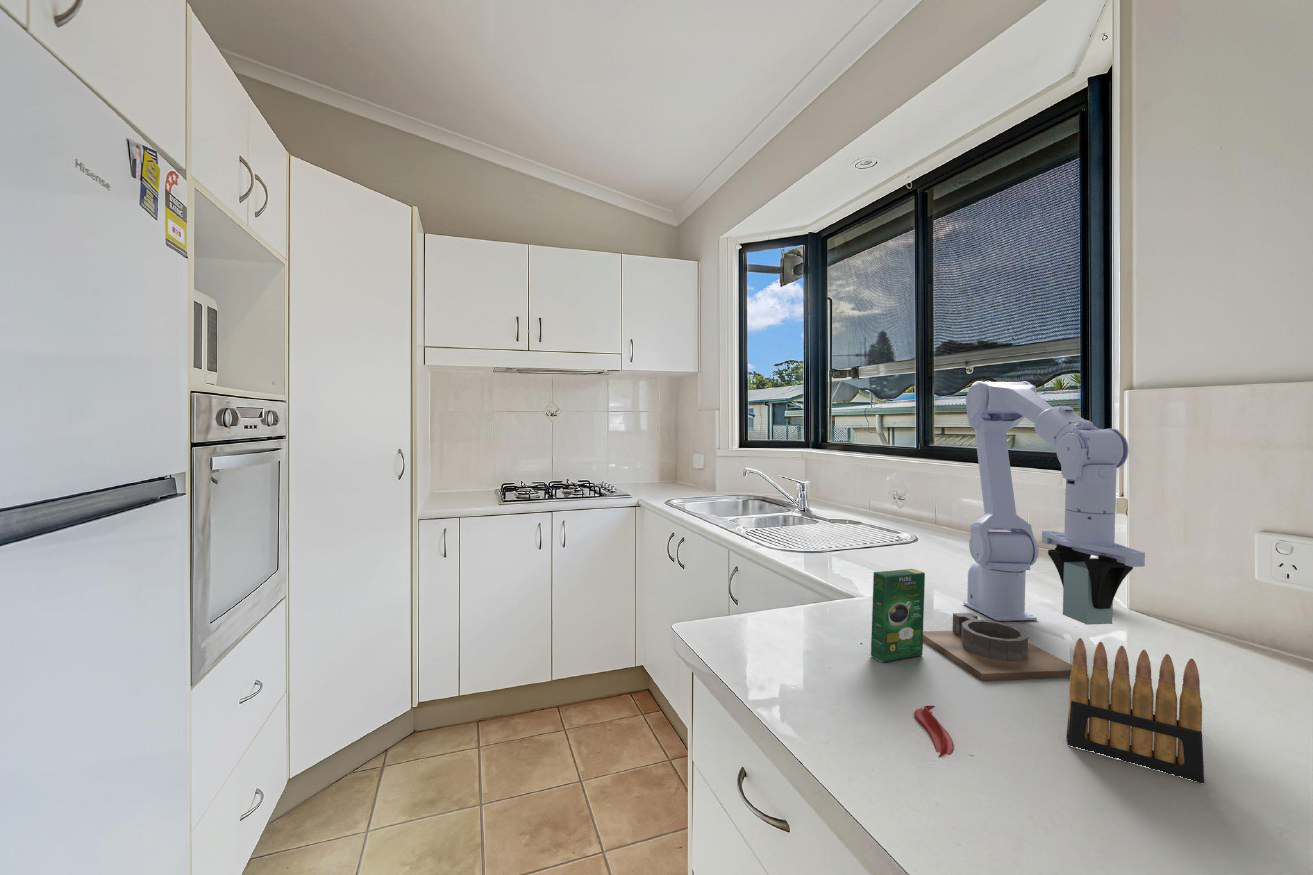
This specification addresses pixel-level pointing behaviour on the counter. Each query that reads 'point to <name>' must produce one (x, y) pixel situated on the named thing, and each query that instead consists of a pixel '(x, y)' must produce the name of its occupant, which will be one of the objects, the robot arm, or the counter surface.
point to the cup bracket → (995, 650)
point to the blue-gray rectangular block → (1081, 596)
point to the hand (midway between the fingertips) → (1087, 602)
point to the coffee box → (897, 614)
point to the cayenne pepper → (935, 730)
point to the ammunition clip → (1137, 713)
